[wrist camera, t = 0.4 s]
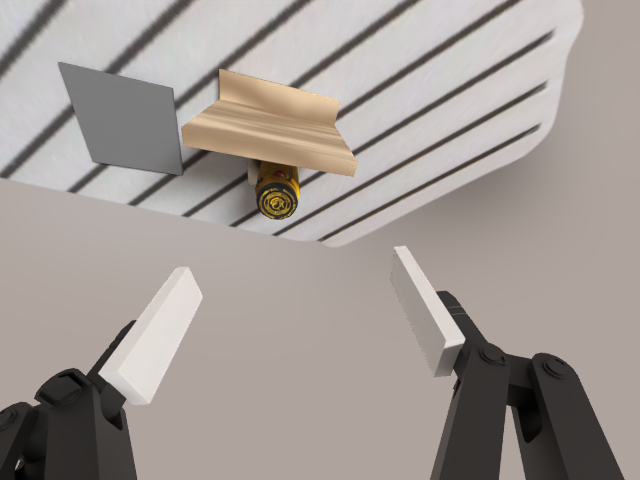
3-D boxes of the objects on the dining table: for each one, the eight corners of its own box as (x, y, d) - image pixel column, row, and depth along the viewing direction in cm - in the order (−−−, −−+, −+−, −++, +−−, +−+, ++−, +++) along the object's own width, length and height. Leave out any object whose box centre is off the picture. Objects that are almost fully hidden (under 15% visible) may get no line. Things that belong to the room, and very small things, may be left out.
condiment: (297, 188, 42) (300, 227, 33) (248, 184, 40) (237, 224, 31) (301, 146, 37) (306, 178, 28) (246, 139, 36) (232, 171, 27)
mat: (61, 62, 28) (57, 62, 28) (172, 88, 31) (171, 88, 30) (95, 160, 35) (92, 161, 35) (183, 174, 38) (182, 175, 37)
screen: (220, 68, 30) (175, 82, 18) (339, 99, 34) (369, 128, 21) (221, 111, 33) (183, 148, 21) (330, 135, 37) (352, 179, 24)
